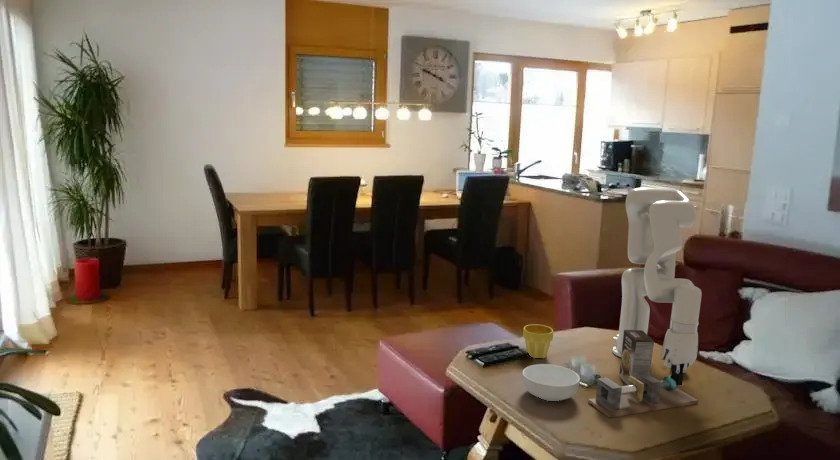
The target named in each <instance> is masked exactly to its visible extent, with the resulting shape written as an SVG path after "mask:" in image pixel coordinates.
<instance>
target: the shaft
mask: <svg viewBox="0 0 840 460" xmlns="http://www.w3.org/2000/svg"><path fill="white" fill-rule="evenodd" d="M660 381H661V386H660V389H664V388H665V390H667V391H674V390H675V388H677V385H676V381H675V379H674V378H673V377H672V376H671V375H666V376H664V377H662V380H660ZM620 387H622V390H621V395H625V394H631V393H637V391H638V386H637V385H636V384H634V385H627V384H626V385H622V386H620ZM647 387H648V384H646V383H644V389H643V392H645V391H647Z"/></svg>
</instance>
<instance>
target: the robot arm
mask: <svg viewBox="0 0 840 460" xmlns="http://www.w3.org/2000/svg"><path fill="white" fill-rule="evenodd" d="M625 211H626V216H627V221H628V235H627V258H628V260H629V261H630V263H632V264H638V265H644V267H631V268H627V269H625V270H624V271H623V273H622V275H621V296H622V297H621V307H620V308H621V309H620V317H619V328H618V334H616V335H615V336H614V337H613V338H612V341H614V342H615V345H614V346H613V347H612V353H613V354H614V355H615V356H617V357H619V358H621V355H622V345H623V336H624V330H642V331H644V332H645V333H646V334H647V335H648V331H649V323H650V321H649V320H650V310H651V308H650V305H649V303H648V302H647V300H646V299H645V297H647V298H648V299H649V301H652V302H653V303H660V304H661V303H669V304H672V305H671V306H672V307H671V313H670V314H671V315H670V322H669V328H668V329H667V331H666V333H665V335H664V339H663V342H662V348H661V352H660V354H661V355H660V359H661V360H662V361H664V363H663V365H662V366H663V367H665V368H667V369H669V370H670V371H671V373H670V374H671V375H670V376H672V377H673V378H674V379H675V381H676V387H679V386H683V383H684V382H683V380H684V374H685V373H686V372H687V369H688V367H690V366H692V365H694V363H695V362H696V360H697V357H698V349H699V333H698V326H699V325H700V323H699V317H700V311H701V310H700V309H701V303H702V295H703V294H702V292H703V291H702V289H701V288H699V287H698V286H695V284H694V283H693V282H692V281H691V280H690V279H688V278H675V273H676V261H677V260H676V256H677V255H676V253H677V252H679V251H680V250H681V249H682V248H683V245H684V243H683V239H682V233H681V228H690V227H692V226H693V225H694V224H696V221H697V210H696V207H695V206H694V204H693V202H692V201H691V200H690V198H688V197H687V196H686V195H685V194H684V193H683V192H681V190H678V189H676V188H670V187H669V188H666V187H664V188H663V187H636V188H633V189H631V190H630V191H628V192H627V195H626V198H625Z"/></svg>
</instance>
